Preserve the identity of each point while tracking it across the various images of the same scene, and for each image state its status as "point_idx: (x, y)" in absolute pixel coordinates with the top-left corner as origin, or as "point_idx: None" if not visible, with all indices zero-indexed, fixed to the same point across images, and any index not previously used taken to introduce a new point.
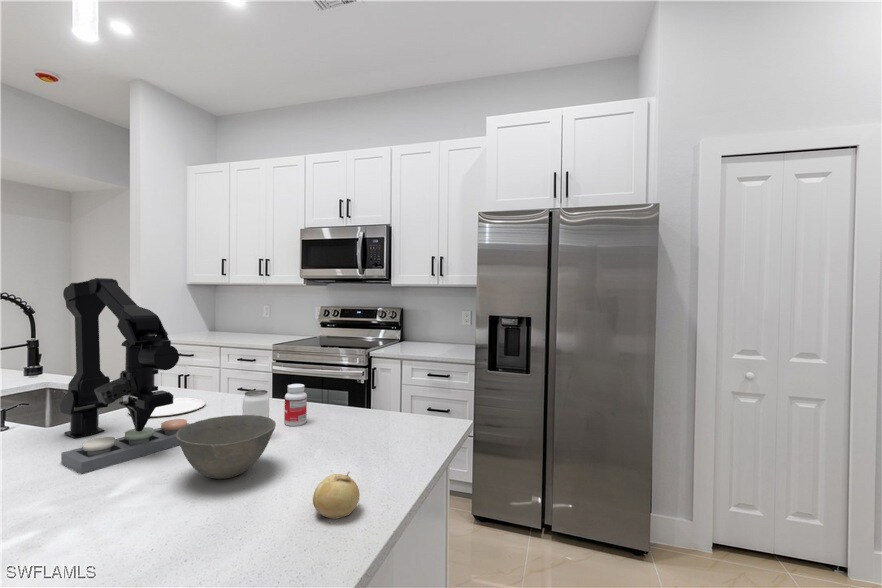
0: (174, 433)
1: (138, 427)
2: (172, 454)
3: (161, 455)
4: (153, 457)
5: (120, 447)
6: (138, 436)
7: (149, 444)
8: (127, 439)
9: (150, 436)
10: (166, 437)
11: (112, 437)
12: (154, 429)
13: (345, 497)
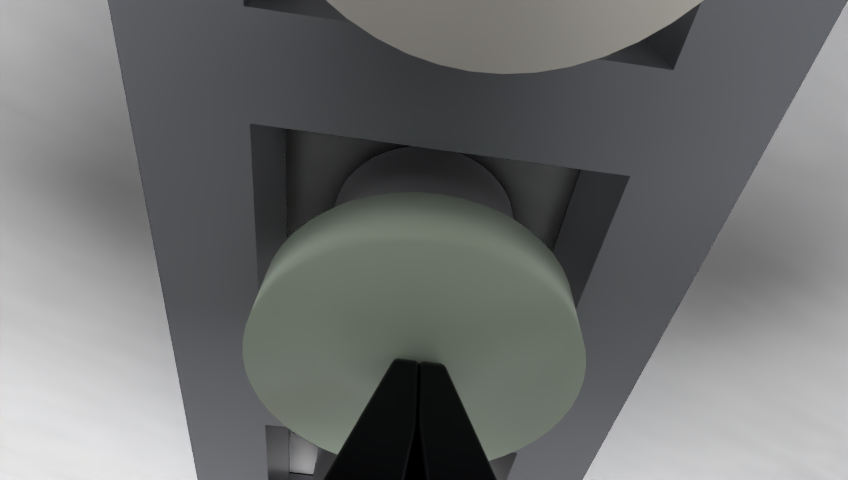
0: (319, 471)
1: (368, 407)
2: (24, 255)
3: (70, 207)
4: (66, 148)
5: (315, 25)
6: (266, 278)
7: (160, 248)
8: (399, 194)
9: None
10: (232, 402)
11: (494, 55)
12: (571, 475)
13: None
